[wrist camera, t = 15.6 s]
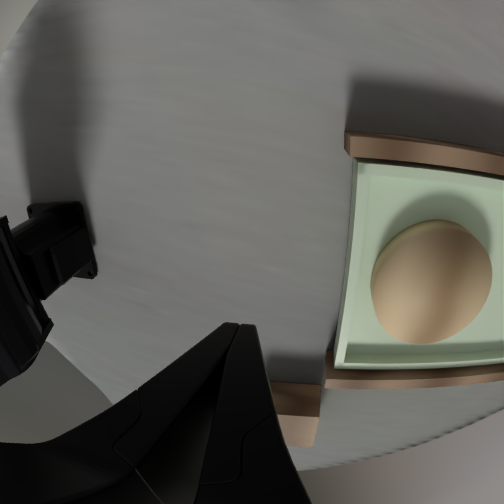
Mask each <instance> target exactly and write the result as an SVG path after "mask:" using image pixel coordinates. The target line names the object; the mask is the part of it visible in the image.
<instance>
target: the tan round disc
mask: <svg viewBox="0 0 504 504" xmlns="http://www.w3.org/2000/svg"><path fill="white" fill-rule="evenodd" d="M492 276H493V275H492V265H491V260H490V257H489V255H488V253H487V251H486V249H485V248H484V246H483V245H482V244H481V243H480V242H479V241H478V240H477V239H476V238H475V237H474V236H473V235H472V233H471V232H469V231H468V230H467V229H466V228H465V227H463V226H461V225H460V224H458V223H455V222H453V221H449V220H442V219H433V220H426V221H422V222H419V223H416V224H413V225H411V226H409V227H407V228H405V229H404V230H402V231H401V232H399V233H398V234H397V235H396V236H394V237H393V238H392V239H391V240H390V241H389V242H388V243H387V244H386V246H385V247H384V248H383V250H382V251H381V253H380V254H379V256H378V258H377V260H376V262H375V264H374V267H373V270H372V274H371V280H370V290H371V296H372V301H373V305H374V310H375V313H376V317H377V319H378V321H379V323H380V324H381V326H382V327H383V328H384V330H385V331H386V332H387V333H389V334H390V335H391V336H393V337H394V338H396V339H398V340H401V341H403V342H407V343H412V344H429V343H434V342H438V341H442V340H444V339H447V338H449V337H451V336H453V335H455V334H457V333H458V332H460V331H461V330H462V329H464V328H465V327H466V326H467V325H469V324H470V323H471V322H472V321H473V320H474V319H475V317H476V316H477V315H478V314H479V312H480V311H481V309H482V308H483V306H484V304H485V302H486V300H487V298H488V296H489V293H490V290H491V285H492Z"/></svg>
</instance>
